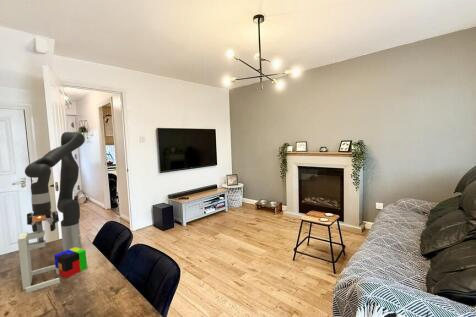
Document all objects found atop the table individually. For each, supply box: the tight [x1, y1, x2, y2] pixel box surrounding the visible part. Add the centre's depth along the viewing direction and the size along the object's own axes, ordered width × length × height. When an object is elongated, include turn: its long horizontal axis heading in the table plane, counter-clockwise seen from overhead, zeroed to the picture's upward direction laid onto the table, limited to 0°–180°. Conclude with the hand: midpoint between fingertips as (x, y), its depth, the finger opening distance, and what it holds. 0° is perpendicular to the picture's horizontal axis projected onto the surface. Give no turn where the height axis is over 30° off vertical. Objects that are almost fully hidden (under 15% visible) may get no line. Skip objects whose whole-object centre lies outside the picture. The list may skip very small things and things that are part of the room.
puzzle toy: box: [53, 247, 88, 279], centre depth 121 cm, size 10×10×10 cm
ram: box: [32, 215, 46, 250], centre depth 113 cm, size 5×5×16 cm
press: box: [17, 229, 61, 294], centre depth 113 cm, size 14×18×24 cm
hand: (44, 231), depth 122 cm, fingers open, 8 cm apart
